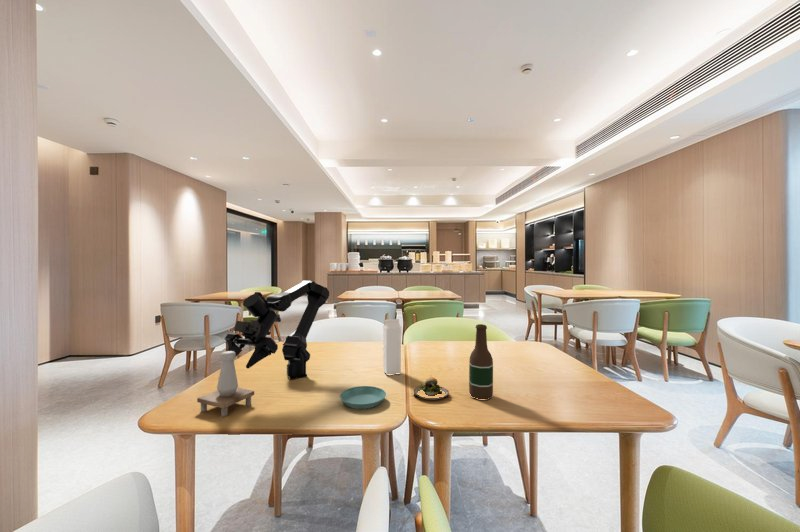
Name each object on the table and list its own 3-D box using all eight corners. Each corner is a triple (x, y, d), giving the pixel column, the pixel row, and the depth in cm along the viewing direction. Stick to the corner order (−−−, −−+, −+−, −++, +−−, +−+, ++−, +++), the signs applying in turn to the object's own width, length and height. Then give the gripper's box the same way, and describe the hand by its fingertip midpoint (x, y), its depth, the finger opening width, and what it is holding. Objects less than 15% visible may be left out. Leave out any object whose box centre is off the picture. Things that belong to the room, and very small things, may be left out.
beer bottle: (493, 393, 115) (493, 323, 115) (492, 402, 107) (492, 327, 107) (470, 390, 117) (471, 322, 117) (467, 399, 110) (468, 326, 110)
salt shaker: (219, 399, 98) (219, 355, 98) (214, 393, 103) (214, 351, 103) (240, 394, 102) (240, 352, 102) (235, 389, 106) (235, 348, 106)
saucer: (335, 397, 111) (335, 389, 111) (377, 391, 117) (377, 383, 117) (346, 415, 98) (346, 406, 98) (392, 407, 103) (393, 399, 103)
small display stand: (229, 398, 109) (229, 385, 109) (254, 403, 105) (254, 391, 105) (197, 411, 99) (197, 398, 99) (223, 418, 95) (223, 404, 95)
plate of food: (408, 400, 109) (408, 377, 109) (419, 387, 120) (420, 367, 120) (444, 406, 105) (444, 382, 105) (452, 392, 116) (452, 371, 116)
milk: (400, 375, 134) (401, 320, 134) (386, 376, 132) (386, 320, 132) (396, 370, 140) (397, 317, 139) (382, 371, 138) (383, 318, 138)
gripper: (229, 309, 114) (198, 349, 104) (271, 312, 106) (242, 356, 96) (247, 328, 121) (221, 367, 111) (288, 332, 114) (263, 374, 104)
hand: (236, 366), depth 105 cm, fingers open, 9 cm apart
